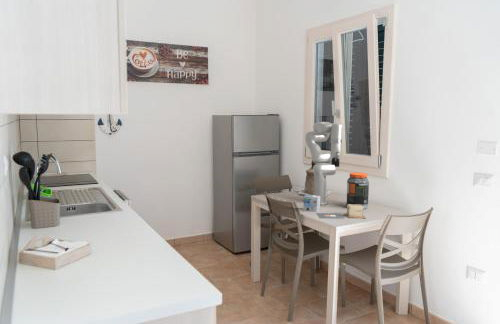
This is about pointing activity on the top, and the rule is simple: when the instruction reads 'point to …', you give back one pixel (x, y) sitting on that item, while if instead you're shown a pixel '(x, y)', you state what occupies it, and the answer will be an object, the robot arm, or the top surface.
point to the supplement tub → (358, 189)
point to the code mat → (330, 215)
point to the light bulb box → (311, 203)
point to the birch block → (354, 210)
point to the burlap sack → (310, 182)
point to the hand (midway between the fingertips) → (335, 165)
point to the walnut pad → (355, 217)
